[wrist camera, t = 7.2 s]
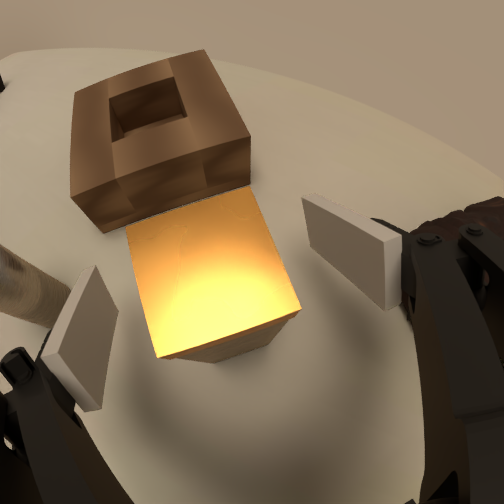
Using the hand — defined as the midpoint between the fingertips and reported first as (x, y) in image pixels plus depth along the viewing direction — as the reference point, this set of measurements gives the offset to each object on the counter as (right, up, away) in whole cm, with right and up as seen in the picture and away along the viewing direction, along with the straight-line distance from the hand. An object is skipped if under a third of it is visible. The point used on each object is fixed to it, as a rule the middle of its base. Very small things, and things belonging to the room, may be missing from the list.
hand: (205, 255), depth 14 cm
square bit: (+1, -4, +3) cm, 5 cm away
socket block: (-5, +8, +8) cm, 12 cm away
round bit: (-12, -4, +3) cm, 13 cm away
